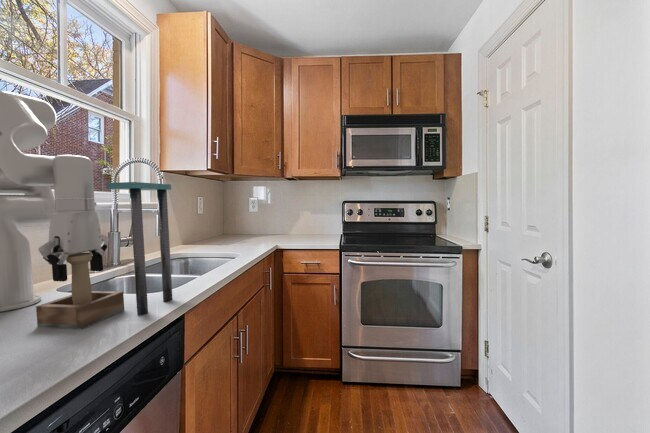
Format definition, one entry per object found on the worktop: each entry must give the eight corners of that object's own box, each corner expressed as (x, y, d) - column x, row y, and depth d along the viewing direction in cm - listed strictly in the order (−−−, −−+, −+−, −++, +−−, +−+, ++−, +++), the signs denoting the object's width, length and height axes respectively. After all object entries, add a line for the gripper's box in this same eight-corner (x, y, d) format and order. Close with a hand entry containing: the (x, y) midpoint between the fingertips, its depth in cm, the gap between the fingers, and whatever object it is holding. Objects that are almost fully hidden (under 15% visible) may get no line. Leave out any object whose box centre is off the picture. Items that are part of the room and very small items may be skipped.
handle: (68, 320, 72) (63, 257, 72) (73, 312, 78) (69, 253, 77) (93, 315, 75) (89, 255, 74) (96, 308, 80) (93, 251, 80)
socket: (37, 327, 71) (35, 306, 71) (84, 308, 83) (83, 290, 83) (82, 329, 70) (81, 307, 69) (124, 310, 81) (123, 291, 81)
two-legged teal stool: (115, 315, 77) (106, 183, 75) (153, 298, 91) (147, 185, 89) (142, 316, 76) (134, 181, 74) (177, 298, 90) (170, 184, 88)
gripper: (93, 205, 84) (96, 267, 85) (23, 208, 67) (28, 285, 68) (117, 205, 83) (121, 268, 84) (52, 208, 66) (57, 286, 67)
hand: (79, 275), depth 76 cm, fingers open, 9 cm apart
